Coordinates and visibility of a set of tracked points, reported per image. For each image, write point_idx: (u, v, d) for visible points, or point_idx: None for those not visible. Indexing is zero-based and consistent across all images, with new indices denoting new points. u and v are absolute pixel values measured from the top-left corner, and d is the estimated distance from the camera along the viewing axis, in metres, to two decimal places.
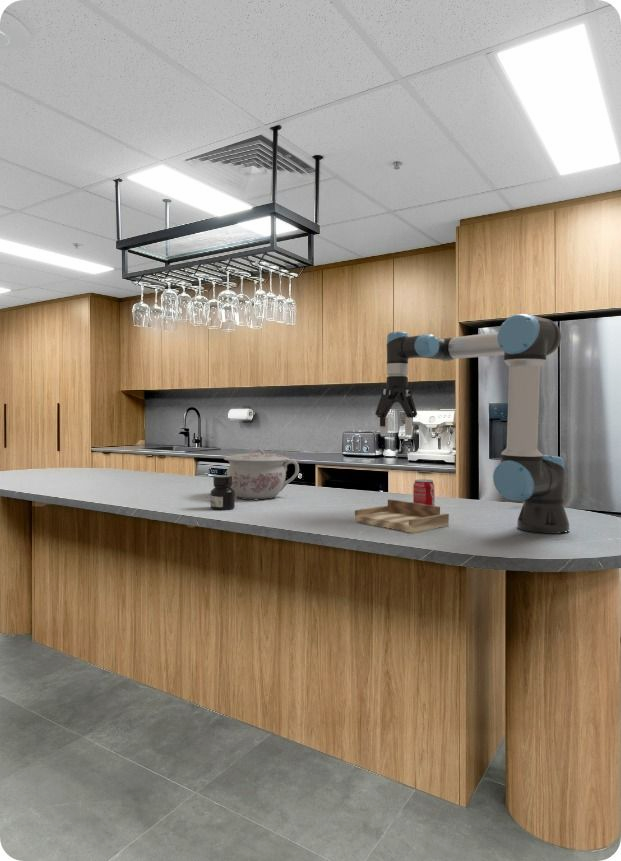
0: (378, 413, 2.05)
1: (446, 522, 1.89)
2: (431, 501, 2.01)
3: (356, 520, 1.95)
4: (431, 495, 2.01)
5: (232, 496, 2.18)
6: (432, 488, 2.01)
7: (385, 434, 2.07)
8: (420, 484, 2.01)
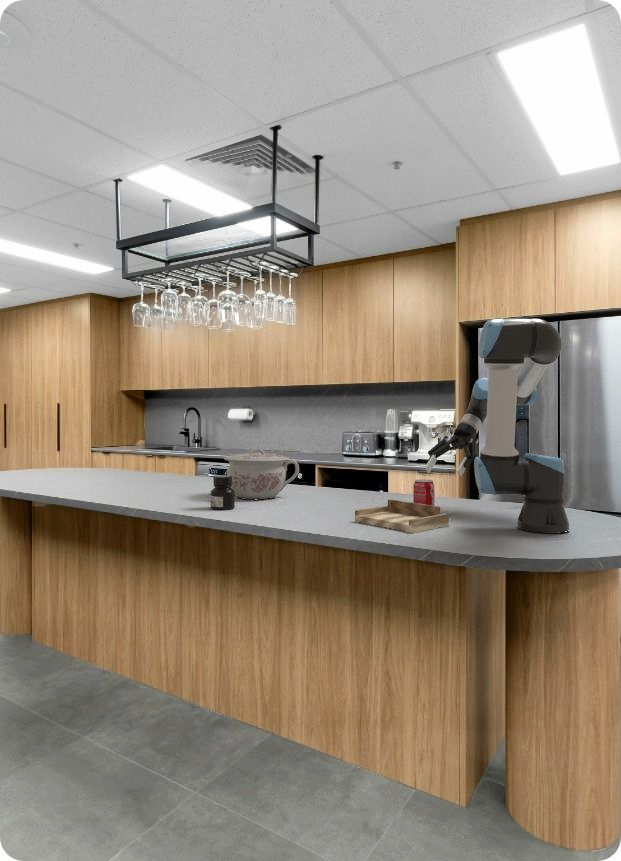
0: None
1: (446, 522, 1.89)
2: (431, 501, 2.01)
3: (356, 520, 1.95)
4: (431, 495, 2.01)
5: (232, 496, 2.18)
6: (432, 488, 2.01)
7: None
8: (420, 484, 2.01)
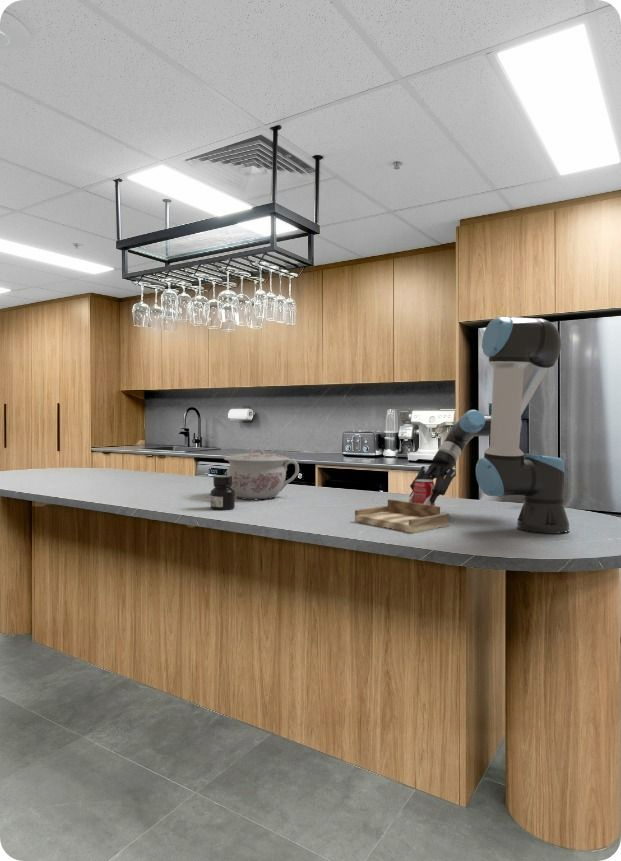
0: None
1: (446, 522, 1.89)
2: None
3: (356, 520, 1.95)
4: None
5: (232, 496, 2.18)
6: (432, 488, 2.01)
7: None
8: (421, 484, 2.00)
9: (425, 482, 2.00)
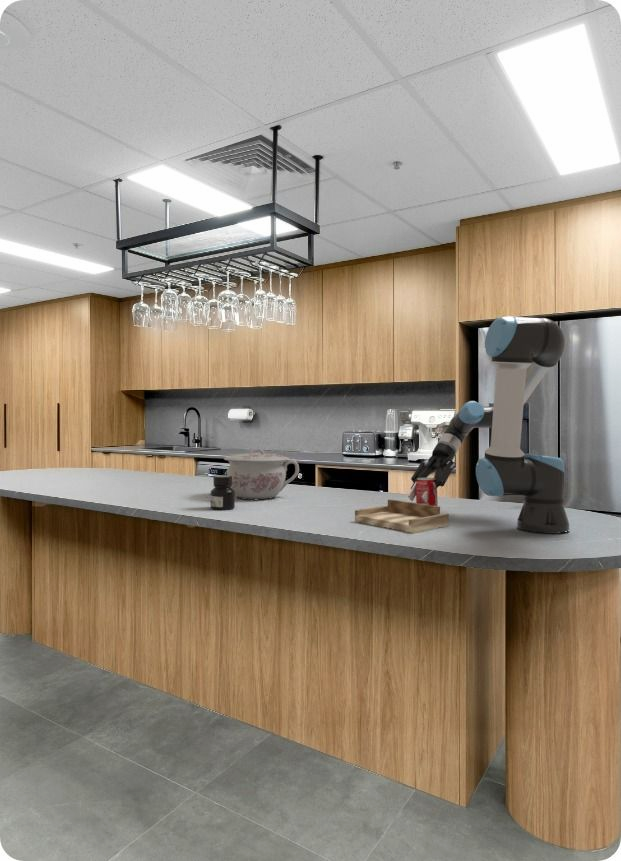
0: None
1: (446, 522, 1.89)
2: (434, 499, 2.00)
3: (356, 520, 1.95)
4: (434, 493, 2.00)
5: (232, 496, 2.18)
6: (435, 486, 2.01)
7: None
8: (423, 482, 2.00)
9: (427, 480, 2.00)
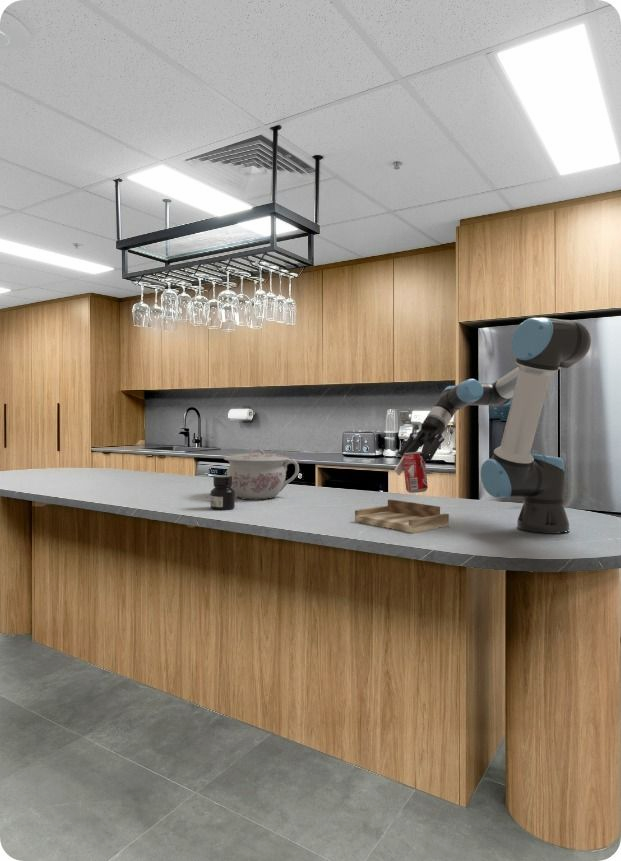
0: None
1: (446, 522, 1.89)
2: (422, 472, 1.94)
3: (356, 520, 1.95)
4: (422, 466, 1.94)
5: (232, 496, 2.18)
6: (422, 459, 1.95)
7: None
8: (410, 456, 1.94)
9: (414, 454, 1.94)
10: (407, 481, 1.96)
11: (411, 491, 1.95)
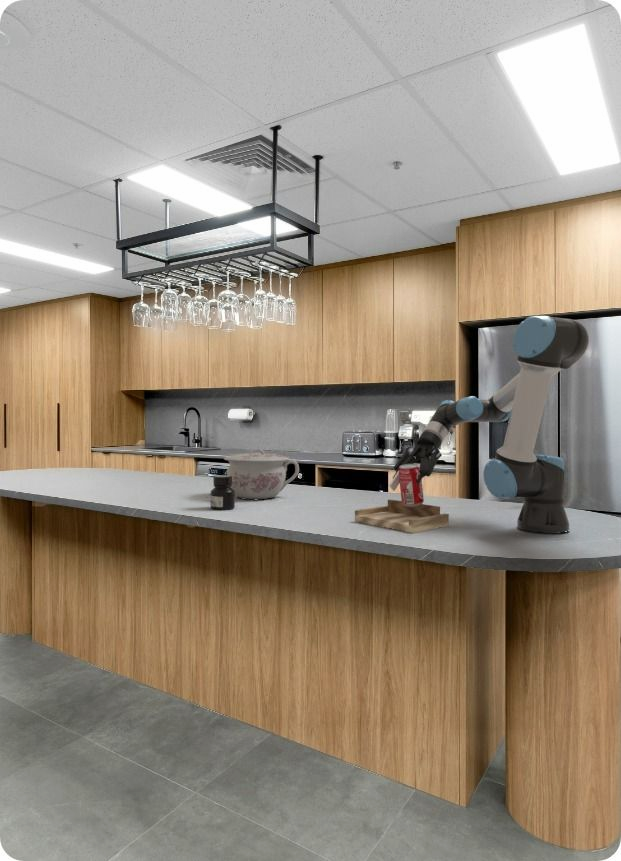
0: None
1: (446, 522, 1.89)
2: (418, 487, 1.90)
3: (356, 520, 1.95)
4: None
5: (232, 496, 2.18)
6: (418, 474, 1.90)
7: None
8: (405, 471, 1.90)
9: (410, 469, 1.89)
10: (403, 495, 1.92)
11: (407, 505, 1.92)
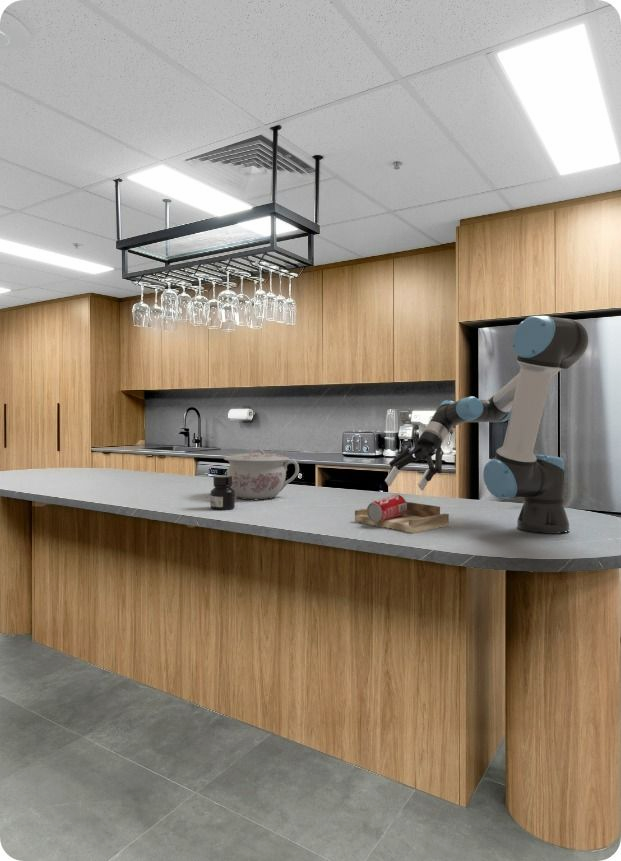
0: None
1: (446, 522, 1.89)
2: (392, 500, 1.90)
3: (356, 520, 1.95)
4: (388, 500, 1.89)
5: (232, 496, 2.18)
6: (382, 501, 1.88)
7: None
8: (384, 514, 1.86)
9: (381, 510, 1.85)
10: (399, 514, 1.92)
11: (406, 509, 1.94)
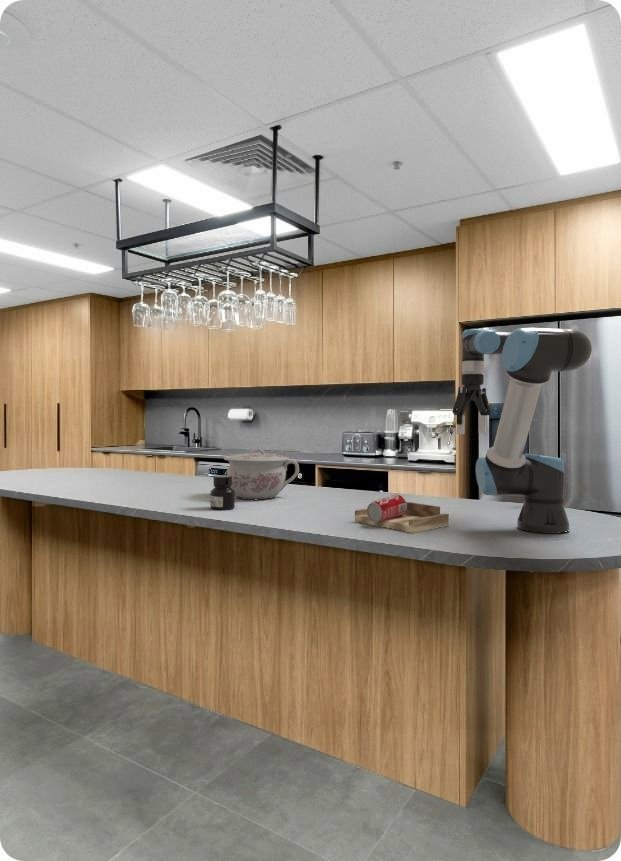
0: (455, 411, 2.04)
1: (446, 522, 1.89)
2: (392, 500, 1.90)
3: (356, 520, 1.95)
4: (388, 500, 1.89)
5: (232, 496, 2.18)
6: (382, 501, 1.88)
7: (462, 432, 2.06)
8: (384, 514, 1.86)
9: (381, 510, 1.85)
10: (399, 514, 1.92)
11: (406, 509, 1.94)
